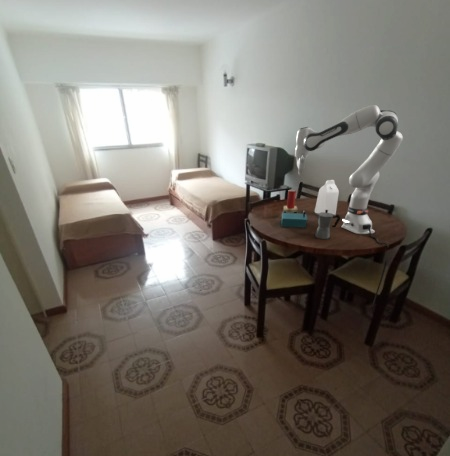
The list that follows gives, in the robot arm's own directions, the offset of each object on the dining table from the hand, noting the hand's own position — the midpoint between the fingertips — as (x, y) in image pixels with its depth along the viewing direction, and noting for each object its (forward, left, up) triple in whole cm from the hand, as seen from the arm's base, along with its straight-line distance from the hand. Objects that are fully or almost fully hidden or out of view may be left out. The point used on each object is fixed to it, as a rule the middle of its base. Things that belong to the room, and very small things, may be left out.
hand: (299, 175), depth 192 cm
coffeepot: (-35, -5, -33) cm, 48 cm away
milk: (+9, -31, -33) cm, 46 cm away
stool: (+7, +1, -33) cm, 34 cm away
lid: (-9, +5, -27) cm, 29 cm away
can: (+7, +1, -25) cm, 26 cm away
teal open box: (-9, +5, -33) cm, 35 cm away
